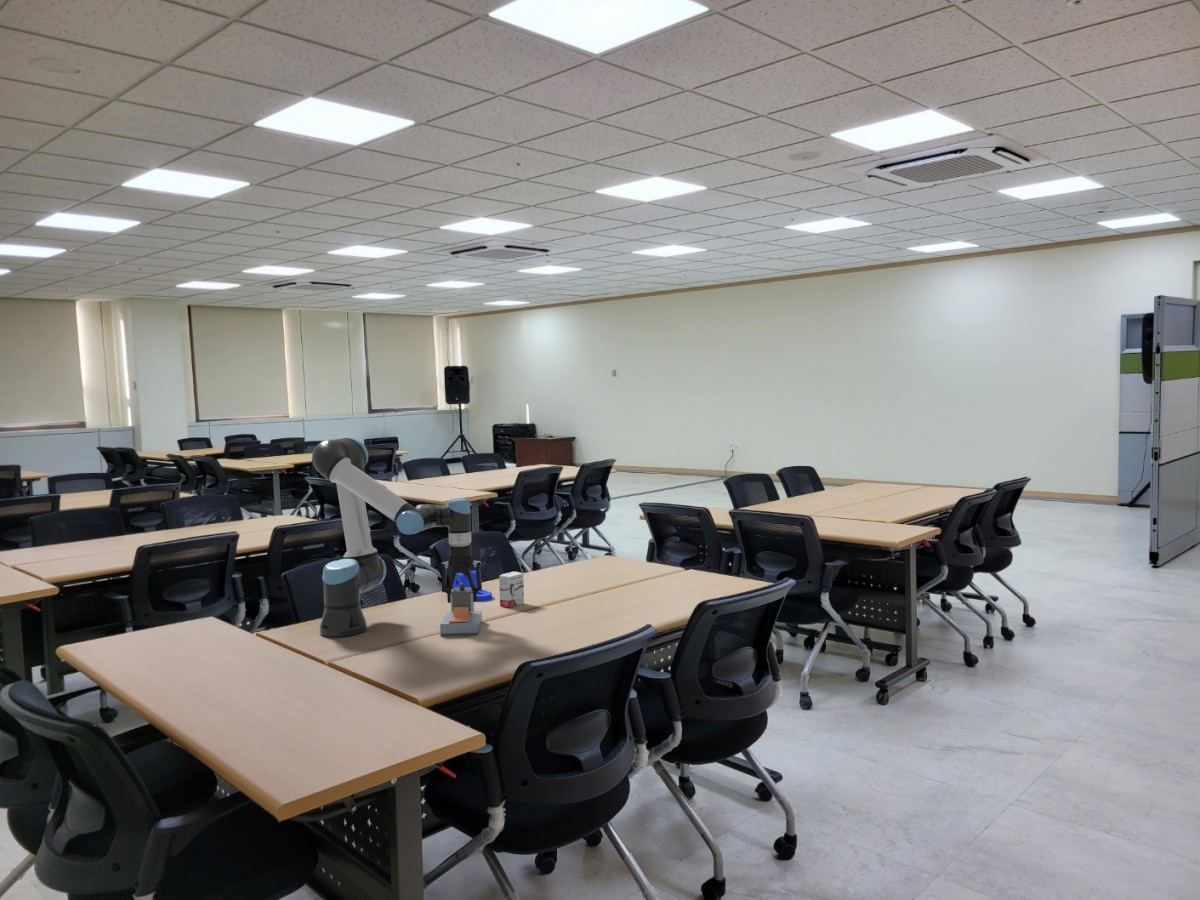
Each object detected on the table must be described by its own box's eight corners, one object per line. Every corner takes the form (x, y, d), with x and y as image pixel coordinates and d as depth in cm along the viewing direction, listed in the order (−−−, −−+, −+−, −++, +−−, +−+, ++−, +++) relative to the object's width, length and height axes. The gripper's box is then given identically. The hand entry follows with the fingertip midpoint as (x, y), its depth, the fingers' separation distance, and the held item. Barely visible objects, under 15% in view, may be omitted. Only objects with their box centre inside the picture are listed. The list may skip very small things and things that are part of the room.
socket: (440, 636, 271) (440, 624, 271) (447, 622, 287) (447, 611, 287) (477, 634, 272) (477, 622, 272) (482, 621, 288) (481, 610, 287)
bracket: (453, 595, 328) (452, 572, 328) (471, 591, 334) (470, 569, 333) (478, 603, 315) (477, 579, 314) (496, 599, 320) (495, 576, 320)
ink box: (509, 608, 305) (508, 576, 304) (499, 606, 308) (498, 575, 307) (524, 603, 312) (524, 572, 311) (515, 601, 315) (514, 571, 314)
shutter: (448, 622, 272) (448, 612, 272) (451, 617, 278) (451, 607, 278) (468, 621, 272) (468, 611, 272) (471, 616, 279) (470, 606, 278)
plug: (452, 621, 279) (451, 586, 278) (455, 616, 285) (454, 582, 284) (470, 620, 279) (469, 585, 279) (472, 615, 285) (471, 581, 285)
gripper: (430, 547, 277) (432, 615, 278) (487, 545, 277) (489, 613, 279) (433, 543, 284) (436, 609, 286) (489, 541, 285) (491, 607, 286)
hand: (462, 611), depth 282 cm, fingers closed on plug, 6 cm apart
